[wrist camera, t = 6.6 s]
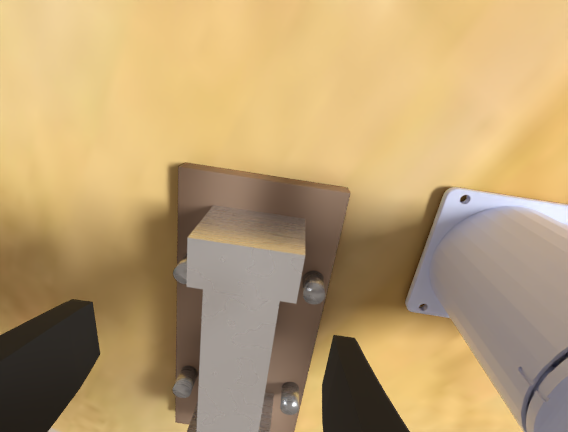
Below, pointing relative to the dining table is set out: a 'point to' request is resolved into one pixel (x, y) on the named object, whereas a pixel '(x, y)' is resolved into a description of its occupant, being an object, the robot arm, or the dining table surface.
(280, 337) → the board
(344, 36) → the dining table surface
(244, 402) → the gray notched block
